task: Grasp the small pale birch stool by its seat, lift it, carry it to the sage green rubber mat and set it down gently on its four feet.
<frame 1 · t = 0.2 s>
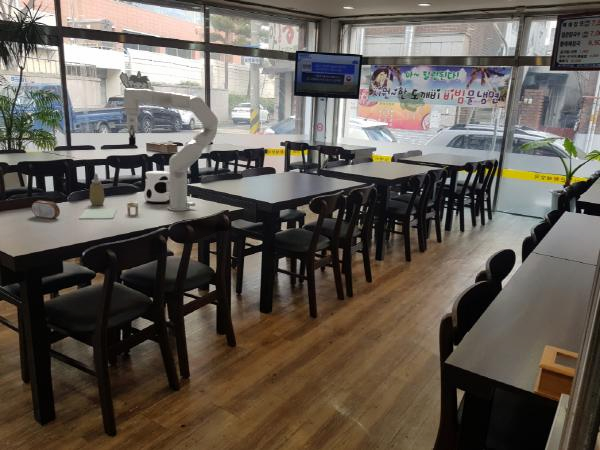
hand: (132, 144, 263), 36 cm above the table, tool pointing down, fingers open, 9 cm apart
mat: (99, 214, 256), on the table
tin: (45, 218, 243), on the table
stool: (132, 214, 260), on the table
milk container: (159, 202, 295), on the table
squeeze bottle: (97, 205, 278), on the table
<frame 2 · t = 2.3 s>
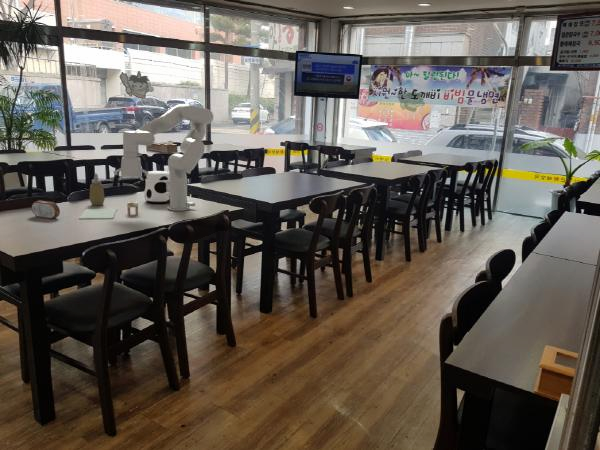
hand: (131, 187, 257), 15 cm above the table, tool pointing down, fingers open, 9 cm apart
nothing on the table moved.
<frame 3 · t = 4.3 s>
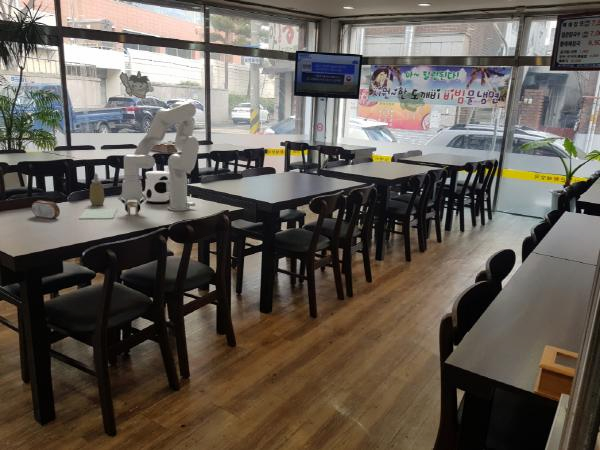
hand: (132, 211, 260), 1 cm above the table, tool pointing down, fingers closed on stool, 5 cm apart
stool: (132, 214, 260), on the table, touching gripper
everything else where it was.
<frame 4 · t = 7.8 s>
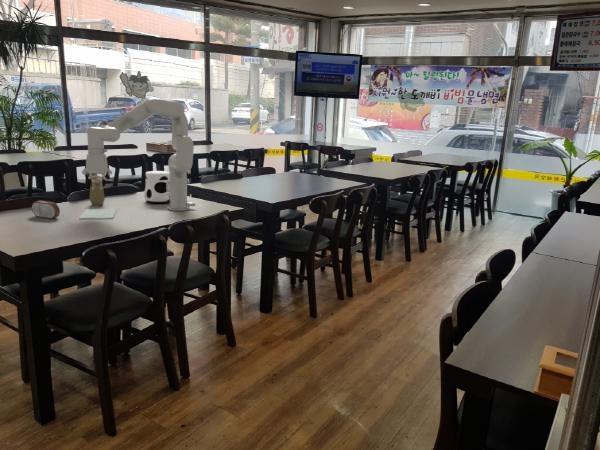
hand: (97, 186, 252), 15 cm above the table, tool pointing down, fingers closed on stool, 5 cm apart
stool: (97, 188, 253), point 14 cm above the table, touching gripper
everything else where it was.
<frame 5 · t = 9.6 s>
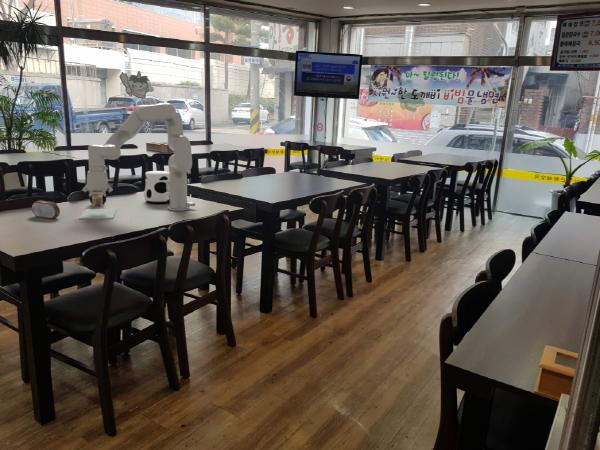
hand: (98, 203, 254), 6 cm above the table, tool pointing down, fingers closed on stool, 5 cm apart
stool: (98, 205, 255), point 5 cm above the table, touching gripper
everything else where it was.
when the fingers open (3 cm above the table, at t = 11.2 s): stool stays where it is, resting on mat.
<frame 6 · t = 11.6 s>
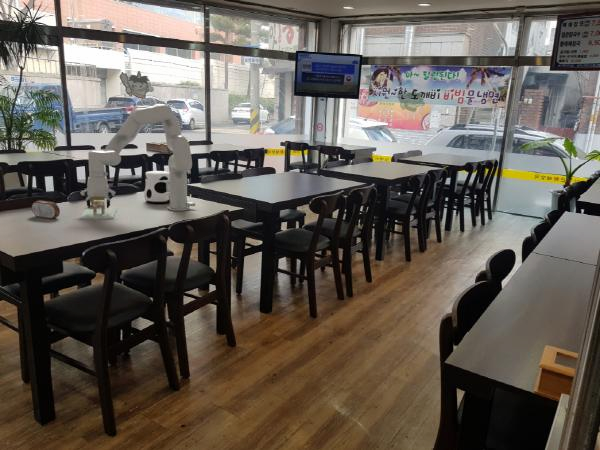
hand: (98, 207, 255), 4 cm above the table, tool pointing down, fingers open, 8 cm apart
stool: (99, 213, 256), point 1 cm above the table, touching mat
everything else where it was.
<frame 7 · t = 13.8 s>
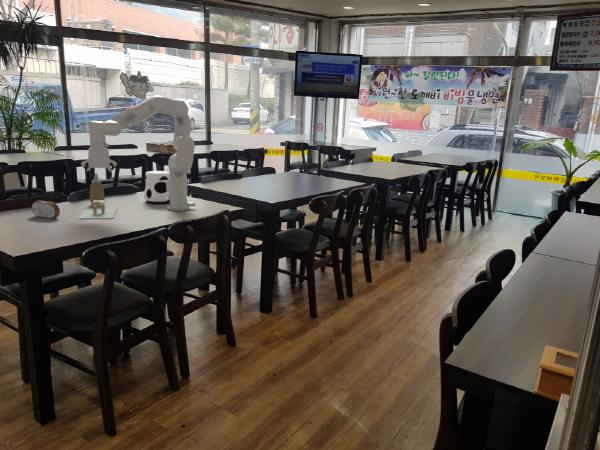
hand: (100, 178, 253), 19 cm above the table, tool pointing down, fingers open, 9 cm apart
nothing on the table moved.
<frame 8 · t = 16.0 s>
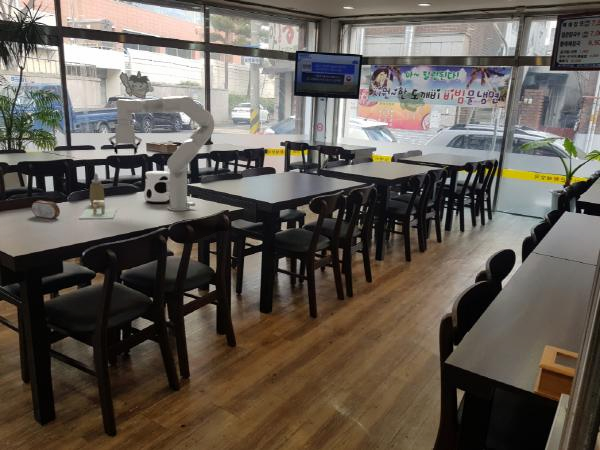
hand: (125, 154, 268), 30 cm above the table, tool pointing down, fingers open, 9 cm apart
nothing on the table moved.
at the end: stool inside the target area on the mat (0.1 cm from its centre), point 0.6 cm above the mat's base; stool tilted 0°; the gripper is holding nothing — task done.
